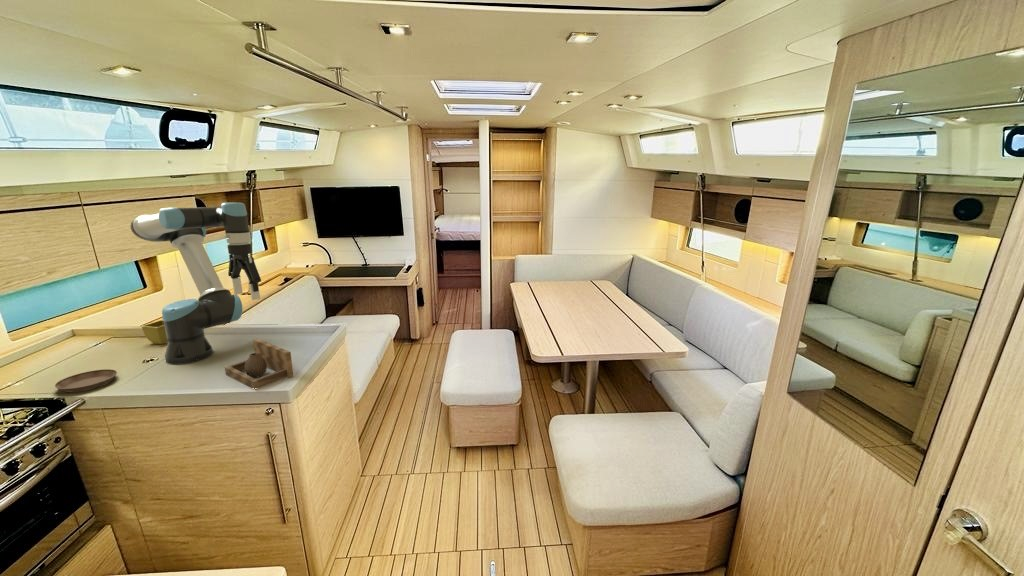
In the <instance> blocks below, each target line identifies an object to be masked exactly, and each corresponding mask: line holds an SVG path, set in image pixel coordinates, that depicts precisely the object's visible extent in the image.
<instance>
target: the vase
mask: <svg viewBox="0 0 1024 576" xmlns="http://www.w3.org/2000/svg"><path fill="white" fill-rule="evenodd" d="M246 360H247V361H246V362H245V366H244V368H245V370H244V372H245V374H246V375H248V376H250V377H252V378H254V379H258V378H260V377H263V376H264V374H265V373H266V372H267V369H268V368H267V365H266V361H265V360H264V359H263V358H262V357H261V356H259V355H258V353H255V352H254V353H253V352H252V353H250V354H249V356H248V358H247V359H246Z"/></svg>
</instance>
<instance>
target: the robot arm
mask: <svg viewBox="0 0 1024 576" xmlns="http://www.w3.org/2000/svg"><path fill="white" fill-rule="evenodd" d="M129 226H130V230H131V232H132V233H133V235H134V236H136V238H139V239H140V240H143V241H146V242H147V241H148V242H154V243H157V242H158V243H159V242H160V243H161V242H170V245H171V246H172V247H173V248H175V249H177V250H178V251H179V254H180V255H181V257H182V260H183V261H184V264H185V265H186V268H187V270H188V272H189V274H190V275H191V278H192V280H193V282H194V284H195V286H196V288H197V289H196V290H197V291H198V293H199V294H200V296H199V297H198V299H197V298H188V299H181V300H177V301H173V302H171V303H168V304H166V305H165V306H164V307H163V308H162V310H161V315H162V319H161V320H163V322H164V326H165V331H166V336H167V340H168V342H167V343H166V344H167V346H166V350H165V354H164V359H165V363H167V364H171V365H183V364H189V363H194V362H198V361H201V360H204V359H207V358H208V357H211V355H212V354H214V351H213V346H212V345H211V344H210V342H209V341H208V338H207V337H206V336H205V331H204V330H205V329H209V328H213V327H216V326H217V327H218V326H222V325H226V324H230V323H233V322H237V321H239V320H240V318H241V317H242V315H243V304H242V303H243V302H242V300H241V297H240V296H239V295H241V294H243V286H242V280H241V279H242V277H241V271H242V270H243V271H244V273H245V274H246V277H247V278H248V281H249V282H248V285H249V291H250V295H251V296H250V297H251V300H252V301H255V300H260V299H261V295H260V288H259V283H260V282H262V279H261V277H260V274H259V272H258V271H259V270H258V268H257V266H256V262H255V258H254V257H253V256H252V257H249V254H252V253H253V250H252V249H253V248H252V244H251V242H252V241H251V234H250V228H249V219H248V212H247V208H246V204H245V203H243V202H222V203H221V206H212V207H211V206H204V207H203V206H201V207H199V206H198V207H197V206H196V207H173V206H172V207H163V208H160V209H159V212H158V213H153V214H152V213H151V214H143V215H139V216H136V217H135V218H133V220H132V221H131V222H130V225H129ZM218 227H221V228H222V227H224V232H225V236H224V237H225V239H226V243H227V251H228V254H229V255H228V257H229V260H228V261H229V262H228V274H227V275H228V277H230V278H231V281H232V287H233V288H232V289H233V294H232V292H231V291H230V290H229V289H227V288H224V286H223V284H222V281H221V279H220V278H219V276H218V273H217V271H216V269H215V268H214V265H213V263H212V261H211V259H210V257H209V255H208V253H207V251H206V248H205V246H204V245H203V242H204V241H205V237H206V235H207V230H206V228H218Z"/></svg>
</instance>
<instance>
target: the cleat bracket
mask: <svg viewBox="0 0 1024 576" xmlns="http://www.w3.org/2000/svg"><path fill="white" fill-rule="evenodd" d="M252 342H253V349H254V353H258V355H259V356H261V357H262V358H263V359H264V360H265V361H266V365H267V369H269V370H271V371H273V372H272V373H268V374H267V375H262V376H260V377H257V378H252V377H250V376H248V375H247V374H246V373H244V372H243V371H245V368H244V366H245V362H246V361H247V359H245V360H242V361H240V362H236V363H233V364H229V365H227V366H224V372H225V375H226V376H228V377H230V378H231V379H233V380H236V381H237V382H238V383H241V384H243V385H245V386H246V387H248V388H251V389H252V388H254V389H255V388H258V389H259V388H263V387H266V386H268V385H271V384H273V383H276V382H278V381H281V380H283V379H286V378H288V379H291V378H293V376H294V368H293V360H292V353H291V352H292V351H289V350H286V349H284V348H282V347H280V346H277V345H274V344H272V343H269V342H267V341H264V340H262V339H260V338H254V339H252ZM254 389H253V390H254ZM255 390H256V389H255Z"/></svg>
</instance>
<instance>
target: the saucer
mask: <svg viewBox="0 0 1024 576" xmlns="http://www.w3.org/2000/svg"><path fill="white" fill-rule="evenodd" d="M117 374H118V372H117V370H116V369H109V368H107V369H106V368H104V369H96V370H90V371H85V372H81V373H80V372H79V373H76V374H73V375H70V376H67V377H65V378H63V379H60V380H58V381H57V382H56V383H55V384H54V388H56V389H58V390H60V391H62V392H67V393H78V392H79V393H80V392H86V391H90V390H94V389H97V388H100V387H102V386H105V385H106V384H108V383H110V382H112V380H114V379H115V377H116V376H117Z"/></svg>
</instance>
